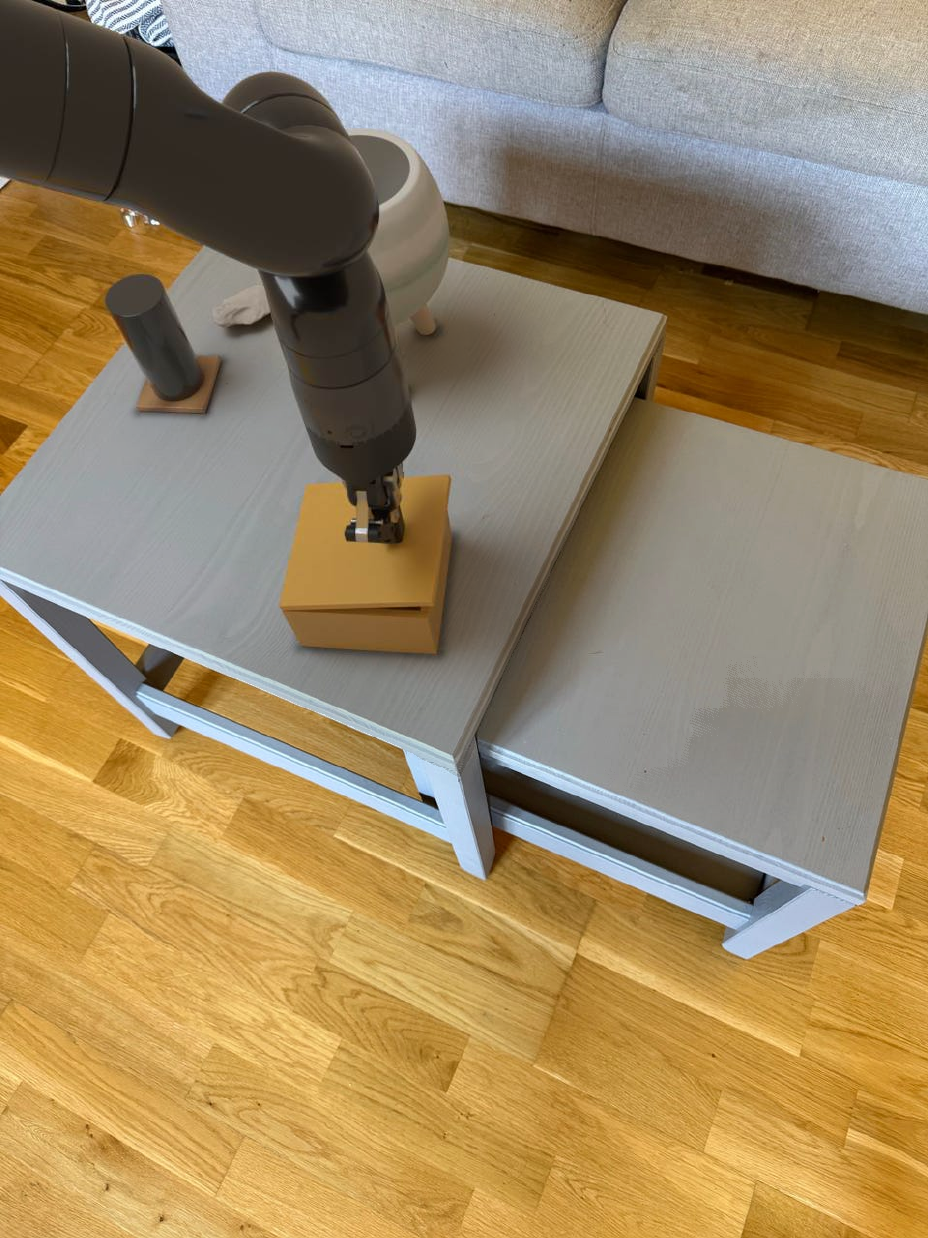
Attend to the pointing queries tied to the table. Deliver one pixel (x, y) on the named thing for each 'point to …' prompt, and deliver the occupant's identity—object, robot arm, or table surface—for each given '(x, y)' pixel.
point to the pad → (188, 405)
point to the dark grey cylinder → (155, 336)
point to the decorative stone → (242, 307)
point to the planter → (405, 226)
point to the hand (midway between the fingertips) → (391, 535)
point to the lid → (366, 551)
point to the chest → (377, 621)
